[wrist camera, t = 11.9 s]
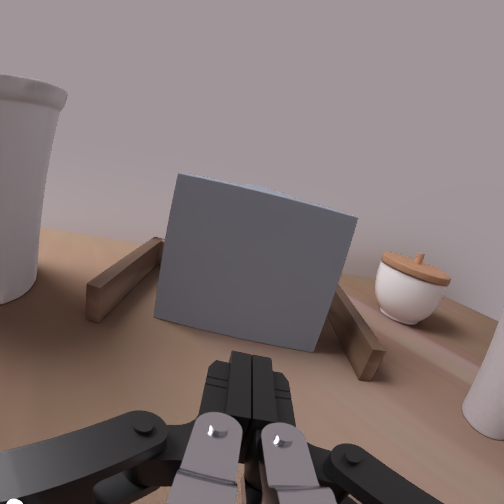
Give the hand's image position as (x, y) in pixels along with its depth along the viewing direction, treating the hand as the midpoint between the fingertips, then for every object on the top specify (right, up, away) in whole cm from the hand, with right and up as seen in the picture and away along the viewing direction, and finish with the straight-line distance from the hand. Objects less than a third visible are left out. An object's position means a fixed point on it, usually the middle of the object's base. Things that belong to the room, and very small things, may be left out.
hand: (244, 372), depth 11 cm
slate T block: (-1, -1, +20) cm, 20 cm away
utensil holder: (-26, +2, +9) cm, 27 cm away
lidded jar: (+21, -5, +29) cm, 36 cm away
